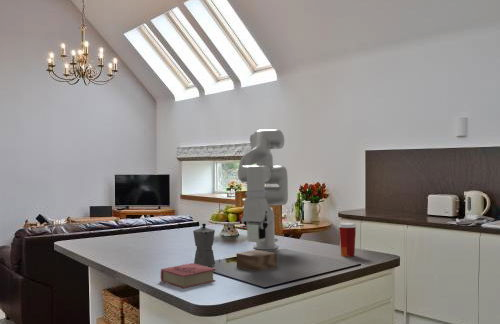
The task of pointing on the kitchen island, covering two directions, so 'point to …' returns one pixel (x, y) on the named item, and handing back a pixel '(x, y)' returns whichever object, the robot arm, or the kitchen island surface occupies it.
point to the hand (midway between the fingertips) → (256, 237)
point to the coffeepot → (204, 246)
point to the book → (187, 275)
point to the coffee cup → (347, 239)
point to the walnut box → (256, 260)
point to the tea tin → (254, 232)
